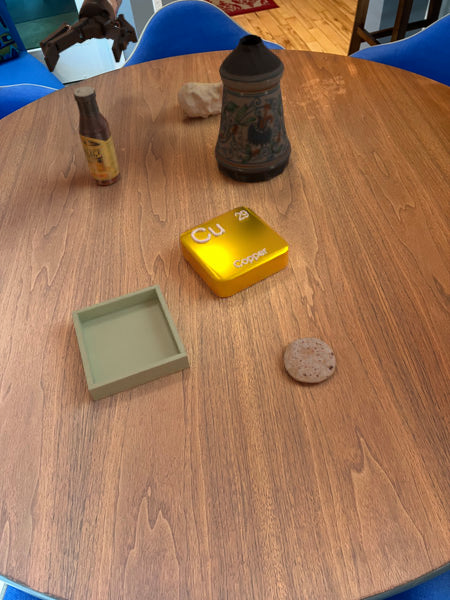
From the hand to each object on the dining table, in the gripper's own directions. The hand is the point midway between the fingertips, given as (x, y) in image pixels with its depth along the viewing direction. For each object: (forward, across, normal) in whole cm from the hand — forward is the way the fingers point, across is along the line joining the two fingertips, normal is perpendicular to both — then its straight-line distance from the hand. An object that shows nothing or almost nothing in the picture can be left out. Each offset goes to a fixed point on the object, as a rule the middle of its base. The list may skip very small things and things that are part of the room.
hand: (81, 60), depth 93 cm
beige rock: (-18, -22, -25) cm, 38 cm away
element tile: (+36, -27, -22) cm, 50 cm away
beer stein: (+4, -31, -24) cm, 39 cm away
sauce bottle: (+9, +1, -22) cm, 24 cm away
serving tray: (+54, -10, -20) cm, 58 cm away
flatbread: (+58, -37, -22) cm, 73 cm away
